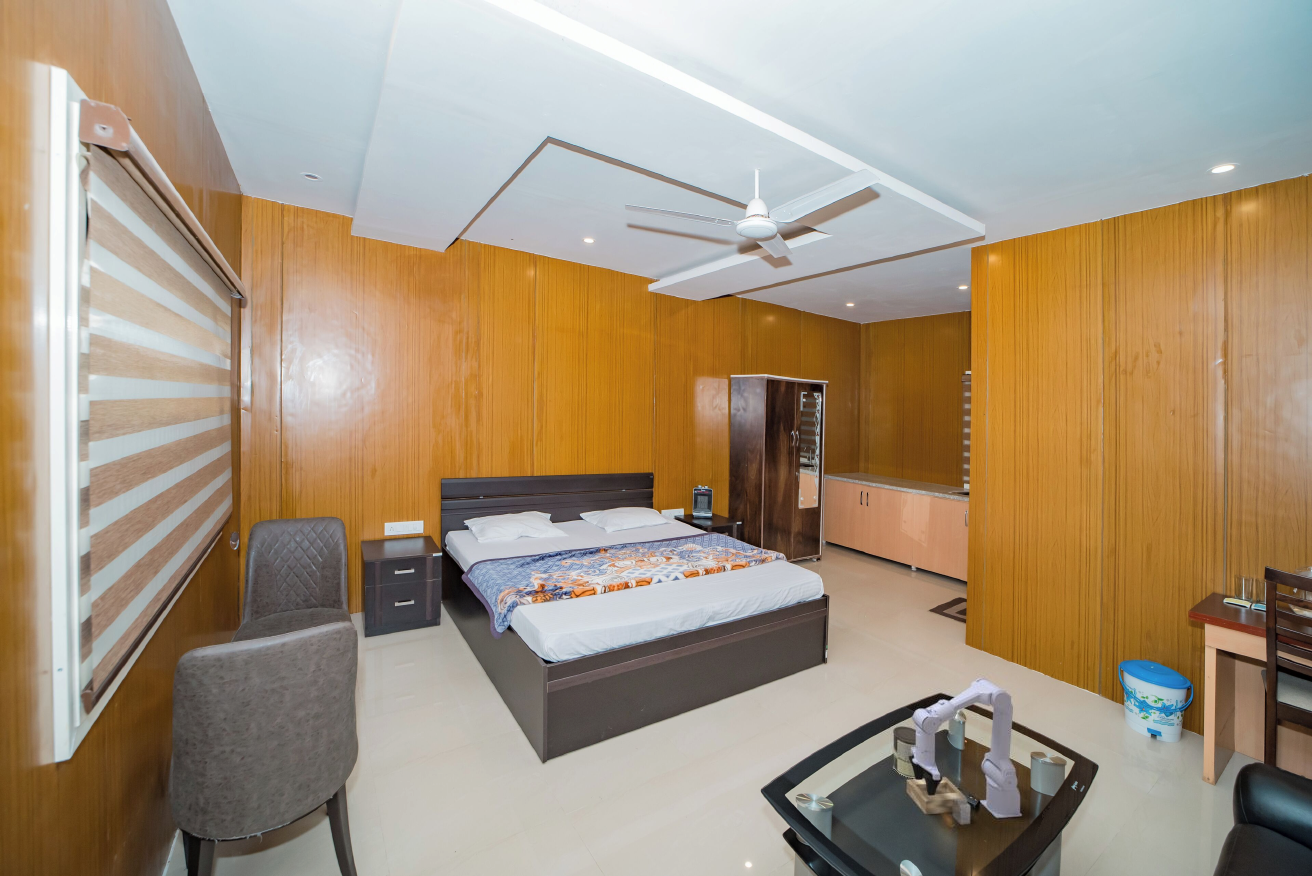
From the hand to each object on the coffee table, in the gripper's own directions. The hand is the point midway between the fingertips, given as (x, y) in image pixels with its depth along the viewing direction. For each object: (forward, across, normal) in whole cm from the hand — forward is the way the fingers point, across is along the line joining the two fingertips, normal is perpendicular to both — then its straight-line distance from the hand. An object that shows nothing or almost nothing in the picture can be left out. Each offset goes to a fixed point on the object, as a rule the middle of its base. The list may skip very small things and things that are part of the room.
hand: (924, 786), depth 178 cm
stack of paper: (+10, +2, +11) cm, 15 cm away
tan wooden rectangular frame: (+10, -7, +8) cm, 14 cm away
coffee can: (+10, -24, +7) cm, 27 cm away
